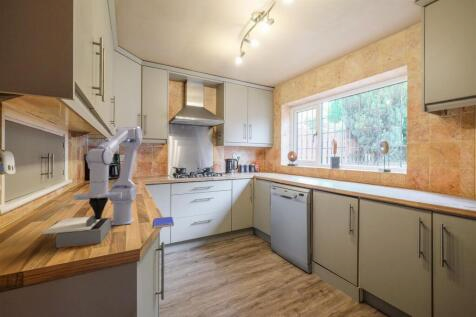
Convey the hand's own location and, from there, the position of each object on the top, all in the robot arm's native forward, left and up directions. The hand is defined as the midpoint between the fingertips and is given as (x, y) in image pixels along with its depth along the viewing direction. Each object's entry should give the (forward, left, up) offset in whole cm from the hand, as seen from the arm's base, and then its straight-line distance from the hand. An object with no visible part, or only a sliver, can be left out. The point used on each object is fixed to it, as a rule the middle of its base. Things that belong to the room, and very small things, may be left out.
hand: (98, 218), depth 78 cm
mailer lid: (0, -7, -1) cm, 7 cm away
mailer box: (0, -3, -6) cm, 7 cm away
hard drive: (-10, +23, -7) cm, 26 cm away
